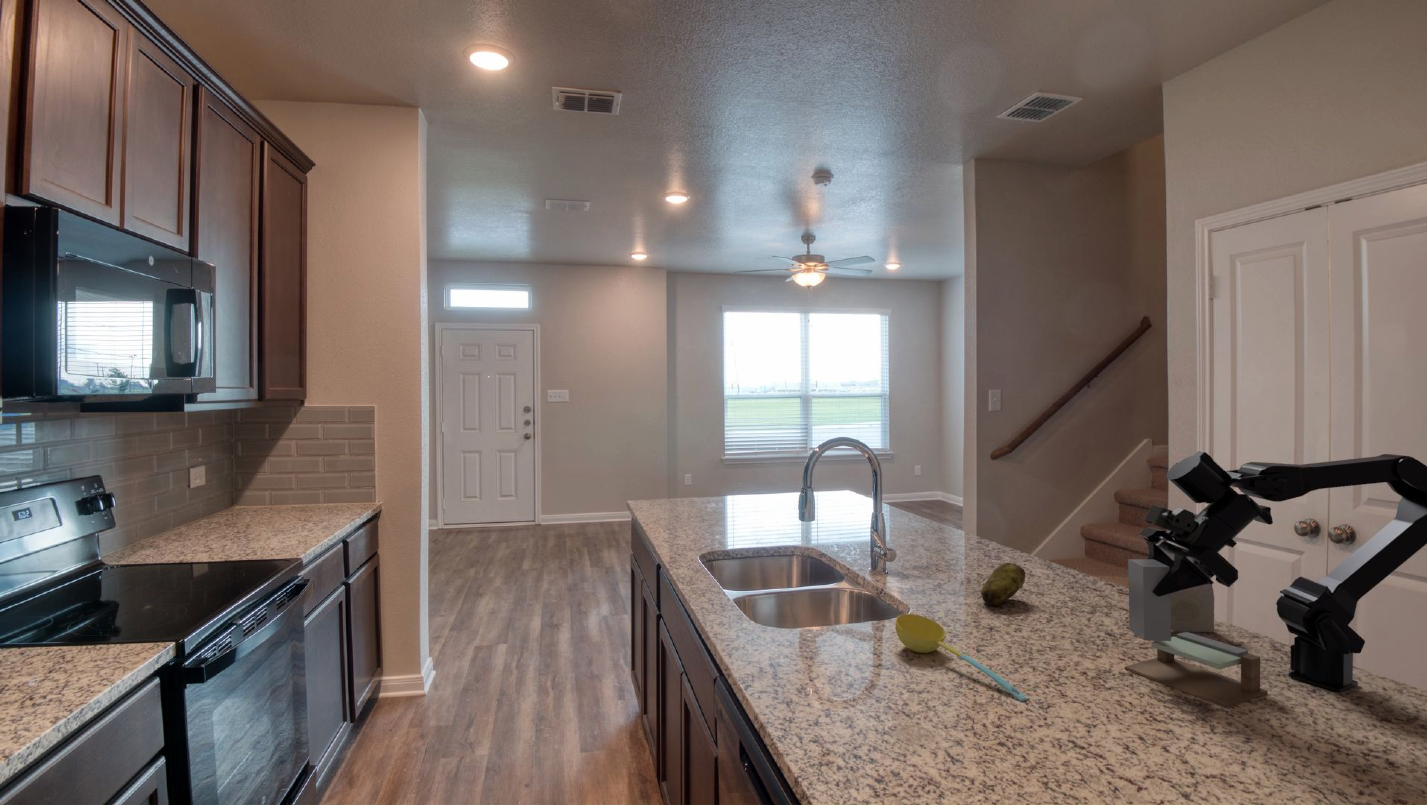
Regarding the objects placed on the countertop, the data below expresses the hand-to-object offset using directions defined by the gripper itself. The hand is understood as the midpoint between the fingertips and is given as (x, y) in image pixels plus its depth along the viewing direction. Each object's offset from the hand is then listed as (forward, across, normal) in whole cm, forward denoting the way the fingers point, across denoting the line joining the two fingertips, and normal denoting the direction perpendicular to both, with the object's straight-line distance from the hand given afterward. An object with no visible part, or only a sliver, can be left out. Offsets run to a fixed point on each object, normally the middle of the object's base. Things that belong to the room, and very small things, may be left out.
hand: (1146, 589), depth 109 cm
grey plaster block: (-1, -22, +21) cm, 30 cm away
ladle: (+31, +3, -13) cm, 34 cm away
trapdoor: (+2, +2, +12) cm, 12 cm away
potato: (+19, -35, 0) cm, 40 cm away
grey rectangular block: (+5, 0, +6) cm, 8 cm away
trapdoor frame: (+6, +3, +14) cm, 15 cm away
